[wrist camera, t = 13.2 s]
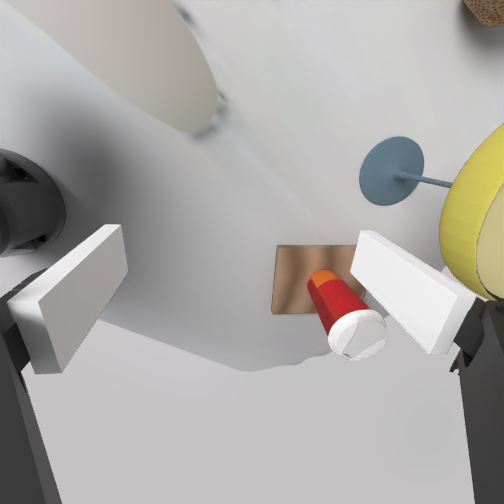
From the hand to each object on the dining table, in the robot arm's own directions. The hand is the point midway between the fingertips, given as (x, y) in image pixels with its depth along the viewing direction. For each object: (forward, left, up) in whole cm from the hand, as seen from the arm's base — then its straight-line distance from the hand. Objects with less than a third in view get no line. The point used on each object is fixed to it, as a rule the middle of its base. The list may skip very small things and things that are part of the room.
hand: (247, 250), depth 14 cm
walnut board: (+17, -19, -28) cm, 38 cm away
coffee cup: (+17, -19, -27) cm, 37 cm away
